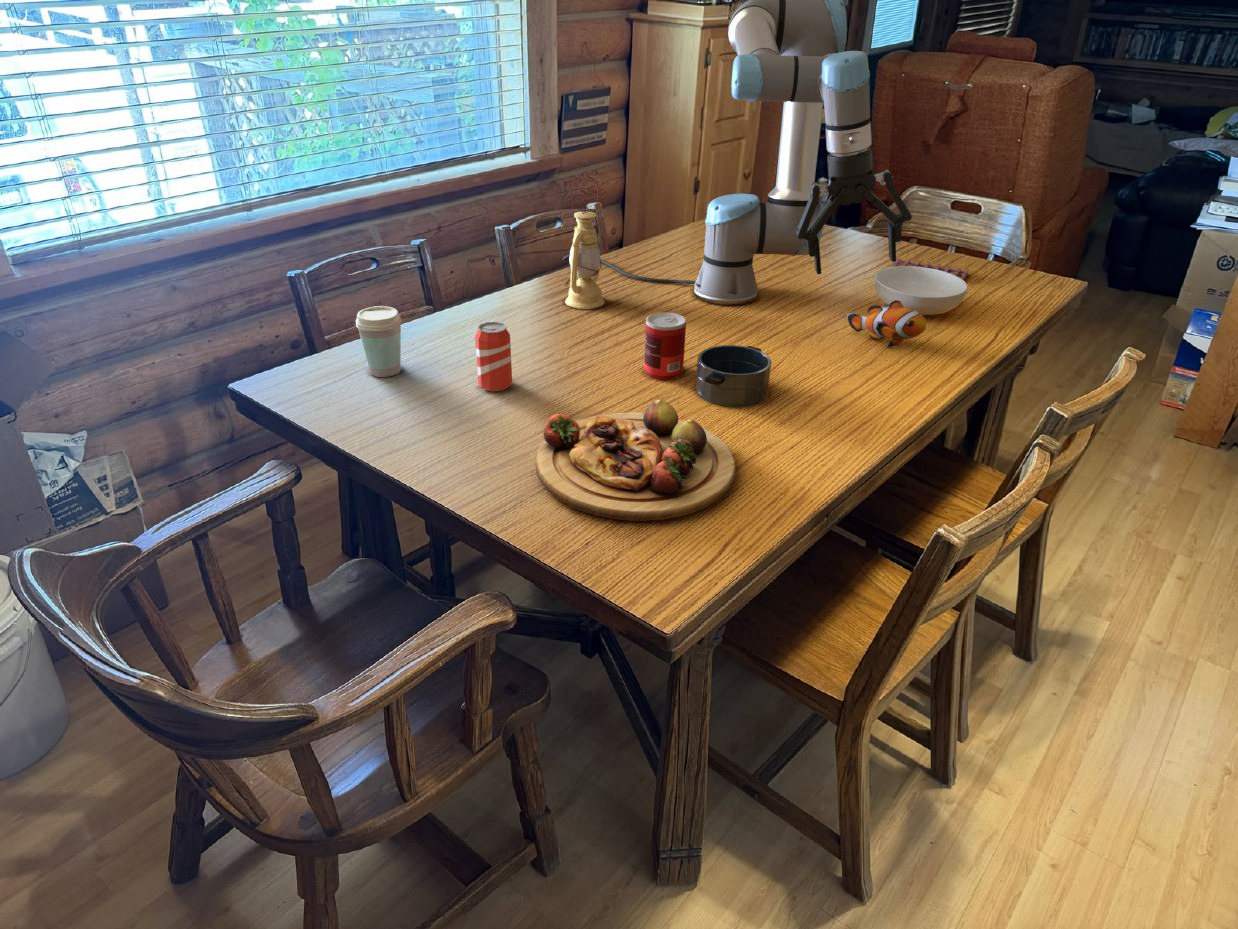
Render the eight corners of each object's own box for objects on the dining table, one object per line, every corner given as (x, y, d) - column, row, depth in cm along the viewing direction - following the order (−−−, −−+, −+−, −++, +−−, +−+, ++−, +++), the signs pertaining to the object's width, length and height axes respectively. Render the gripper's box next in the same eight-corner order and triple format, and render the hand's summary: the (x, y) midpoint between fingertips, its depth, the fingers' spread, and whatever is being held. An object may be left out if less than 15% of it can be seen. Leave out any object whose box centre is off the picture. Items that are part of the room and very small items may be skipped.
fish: (911, 358, 179) (915, 310, 175) (833, 342, 191) (835, 297, 187) (934, 345, 185) (939, 299, 181) (858, 331, 197) (860, 287, 193)
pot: (683, 394, 165) (685, 363, 161) (716, 369, 175) (718, 339, 171) (748, 413, 158) (752, 381, 155) (779, 386, 168) (783, 355, 165)
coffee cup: (416, 367, 173) (410, 309, 167) (389, 383, 166) (381, 324, 160) (381, 358, 176) (373, 302, 170) (353, 375, 169) (344, 316, 163)
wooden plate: (494, 484, 136) (491, 438, 132) (604, 406, 160) (604, 365, 156) (675, 551, 122) (678, 501, 118) (766, 455, 146) (771, 410, 141)
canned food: (687, 366, 176) (690, 315, 170) (676, 382, 169) (679, 329, 163) (651, 361, 178) (653, 309, 172) (638, 376, 171) (640, 323, 165)
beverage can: (490, 376, 170) (487, 318, 164) (518, 383, 167) (515, 324, 161) (472, 388, 165) (467, 329, 159) (500, 396, 163) (497, 335, 157)
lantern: (579, 290, 213) (578, 163, 197) (614, 298, 209) (616, 168, 193) (552, 305, 203) (549, 173, 188) (589, 314, 200) (589, 178, 184)
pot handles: (704, 382, 158) (705, 377, 158) (747, 349, 171) (748, 345, 171) (718, 386, 157) (719, 381, 156) (760, 353, 170) (761, 348, 169)
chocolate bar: (894, 263, 236) (895, 256, 235) (967, 275, 228) (969, 268, 227) (887, 270, 230) (889, 263, 229) (962, 283, 223) (964, 275, 222)
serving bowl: (863, 316, 201) (868, 287, 198) (876, 288, 218) (881, 261, 215) (958, 330, 195) (965, 301, 191) (964, 300, 212) (970, 273, 208)
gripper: (779, 169, 151) (790, 284, 162) (928, 141, 147) (929, 261, 158) (774, 157, 157) (785, 269, 168) (917, 130, 153) (919, 246, 165)
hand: (855, 265), depth 163 cm, fingers open, 13 cm apart
